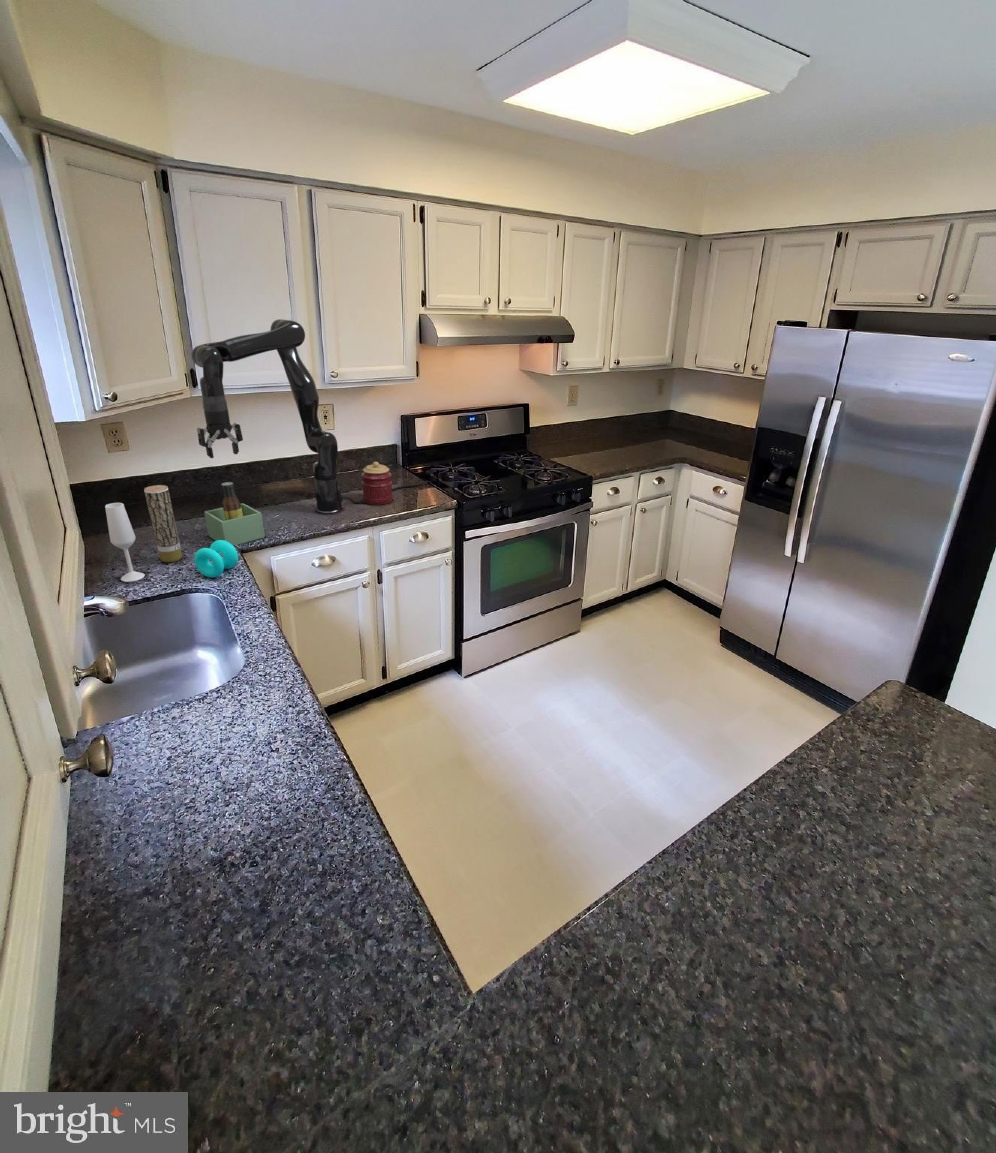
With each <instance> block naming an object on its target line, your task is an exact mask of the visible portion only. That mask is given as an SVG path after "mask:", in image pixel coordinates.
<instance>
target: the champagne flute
mask: <svg viewBox="0 0 996 1153" xmlns="http://www.w3.org/2000/svg"><path fill="white" fill-rule="evenodd" d="M104 508H105V514H106V515H105V516H106V521H107V522H106V523H107V528H108V535H109V541H110V543H111V544H112V545H113V546H114V547H115V548H118V549H120V550H123V553H124V556H125V561H126V564H127V565H126V566H127V569H128V572H127V573H126V574H124V575H122V576H121V577H120V580H121V581H122V582H126V583H129V582H136V581H139V580H142V579H143V578H145V575H146V574H145V573H143V572H140V571H137V570H136V571H135V570H134V568H133V567H134V566H133V563H132V559H131V556H130V552H129V549H130V548H131V547H132V546H133V544H134V543H135V541H136V535H135V532H134V529H133V526H132V523H131V521H130V519H129V516H128V513H127V510H126V508H125V504H124V503H122V502H111V503H107V504H105V506H104Z"/></svg>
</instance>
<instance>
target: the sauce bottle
mask: <svg viewBox="0 0 996 1153" xmlns="http://www.w3.org/2000/svg"><path fill="white" fill-rule="evenodd" d="M220 486H221V489H222V492H223V498H222V502H221V506H222V508H223V511H224V516H225V521H227V520H231V519H235V518H239V517H243V513H242V508H241V504H242V503H241V502H240V500H239V498H238V497H237V495H236V493H235V486H234V482H231V481H226V482H222V483H221V485H220Z"/></svg>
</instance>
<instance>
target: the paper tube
mask: <svg viewBox="0 0 996 1153" xmlns="http://www.w3.org/2000/svg"><path fill="white" fill-rule="evenodd" d="M143 490H144V491H143V492H144V496H145V501H146V504H147V509H148V513H149V517H150V522H151V526H152V531H153V535H154V539H155V543H156V547H157V552H158V556H159V559H160V561H161V562H163V563H175V562H178V561H180V560H181V559H182V558H183V553H182V552H183V551H182V547H181V542H180V536H179V533H178V528H177V523H176V519H175V515H174V509H173V505H172V504H173V503H172V501H171V495H170V491H169V487H168V486H167V485H163V484H157V485H151V486H147V487H144V489H143Z"/></svg>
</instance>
